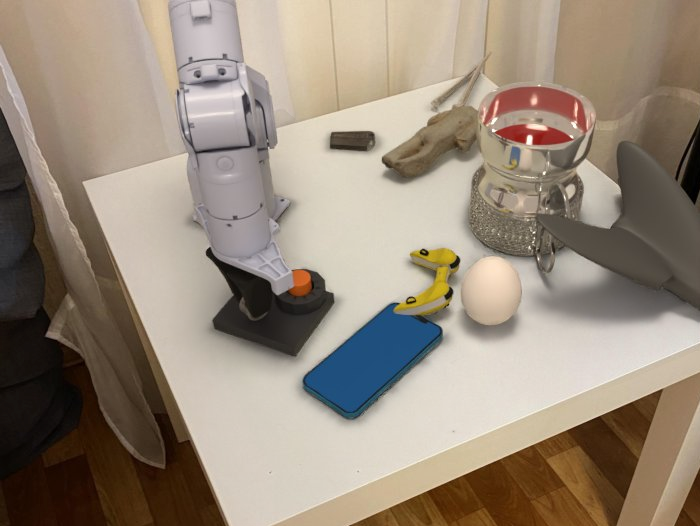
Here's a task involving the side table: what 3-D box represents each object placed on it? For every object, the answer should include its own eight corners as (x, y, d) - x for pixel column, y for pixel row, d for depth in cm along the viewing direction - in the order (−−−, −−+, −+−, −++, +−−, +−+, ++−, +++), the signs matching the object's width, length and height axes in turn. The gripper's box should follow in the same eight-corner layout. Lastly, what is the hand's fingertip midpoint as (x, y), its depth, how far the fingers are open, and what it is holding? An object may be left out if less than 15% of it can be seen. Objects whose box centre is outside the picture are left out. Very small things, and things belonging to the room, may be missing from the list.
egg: (447, 320, 91) (450, 264, 85) (482, 289, 94) (487, 233, 88) (495, 347, 89) (501, 292, 83) (529, 314, 92) (538, 259, 86)
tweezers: (428, 98, 117) (429, 111, 119) (460, 106, 116) (460, 119, 117) (476, 39, 127) (476, 52, 128) (506, 45, 125) (505, 58, 127)
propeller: (756, 307, 100) (815, 255, 95) (697, 379, 81) (766, 318, 76) (615, 178, 104) (664, 120, 99) (528, 217, 85) (581, 149, 80)
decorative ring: (250, 325, 90) (246, 305, 87) (240, 316, 91) (236, 295, 88) (272, 313, 91) (268, 293, 88) (262, 304, 92) (258, 283, 89)
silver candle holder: (528, 175, 108) (542, 68, 97) (630, 250, 98) (658, 141, 87) (447, 212, 103) (452, 104, 92) (545, 295, 94) (564, 185, 83)
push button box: (214, 329, 91) (209, 309, 89) (260, 273, 97) (256, 253, 95) (295, 356, 89) (292, 336, 86) (337, 297, 94) (335, 277, 92)
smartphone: (297, 380, 85) (394, 299, 92) (298, 387, 86) (394, 305, 93) (351, 417, 82) (447, 330, 89) (352, 423, 83) (447, 336, 90)
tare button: (283, 292, 91) (281, 281, 90) (295, 277, 93) (293, 267, 91) (304, 299, 90) (303, 288, 89) (316, 284, 92) (314, 273, 91)
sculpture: (413, 199, 107) (494, 143, 112) (410, 168, 103) (494, 111, 109) (375, 177, 110) (456, 124, 116) (371, 146, 107) (454, 93, 112)
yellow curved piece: (370, 306, 97) (417, 339, 90) (359, 283, 95) (406, 315, 88) (437, 256, 99) (488, 285, 92) (427, 233, 97) (479, 260, 90)
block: (332, 141, 115) (330, 128, 114) (376, 138, 115) (374, 125, 114) (330, 153, 113) (328, 140, 112) (374, 150, 112) (373, 137, 111)
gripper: (314, 220, 77) (325, 325, 87) (228, 151, 85) (248, 255, 95) (249, 253, 74) (269, 358, 85) (166, 178, 82) (193, 283, 92)
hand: (254, 306), depth 90 cm, fingers closed on decorative ring, 2 cm apart
